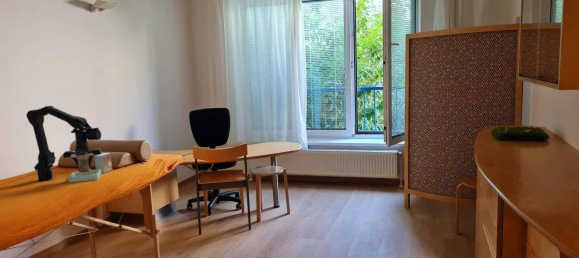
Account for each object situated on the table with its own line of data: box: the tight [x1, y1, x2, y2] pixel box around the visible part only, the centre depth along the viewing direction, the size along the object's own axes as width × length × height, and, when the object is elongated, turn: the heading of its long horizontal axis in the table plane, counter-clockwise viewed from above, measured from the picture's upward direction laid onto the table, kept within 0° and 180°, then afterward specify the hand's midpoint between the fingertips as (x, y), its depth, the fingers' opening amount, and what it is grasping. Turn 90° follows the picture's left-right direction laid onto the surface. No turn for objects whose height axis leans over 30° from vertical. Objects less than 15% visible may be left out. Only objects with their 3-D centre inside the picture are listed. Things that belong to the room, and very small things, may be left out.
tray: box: [67, 169, 102, 184], centre depth 239 cm, size 14×14×3 cm
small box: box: [94, 152, 113, 174], centre depth 255 cm, size 8×6×10 cm
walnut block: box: [77, 157, 91, 173], centre depth 238 cm, size 5×5×7 cm
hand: (84, 168), depth 239 cm, fingers closed on walnut block, 5 cm apart
